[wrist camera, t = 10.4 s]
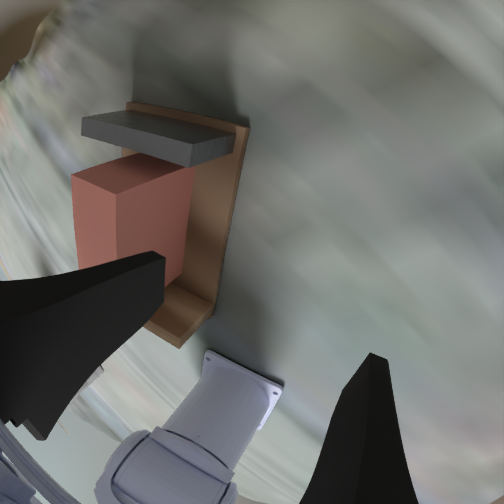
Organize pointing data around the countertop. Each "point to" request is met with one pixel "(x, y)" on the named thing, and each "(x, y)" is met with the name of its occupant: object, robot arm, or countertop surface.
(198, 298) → the shelf
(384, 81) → the countertop surface
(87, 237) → the pink rectangular pillar
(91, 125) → the gray rectangular bar
